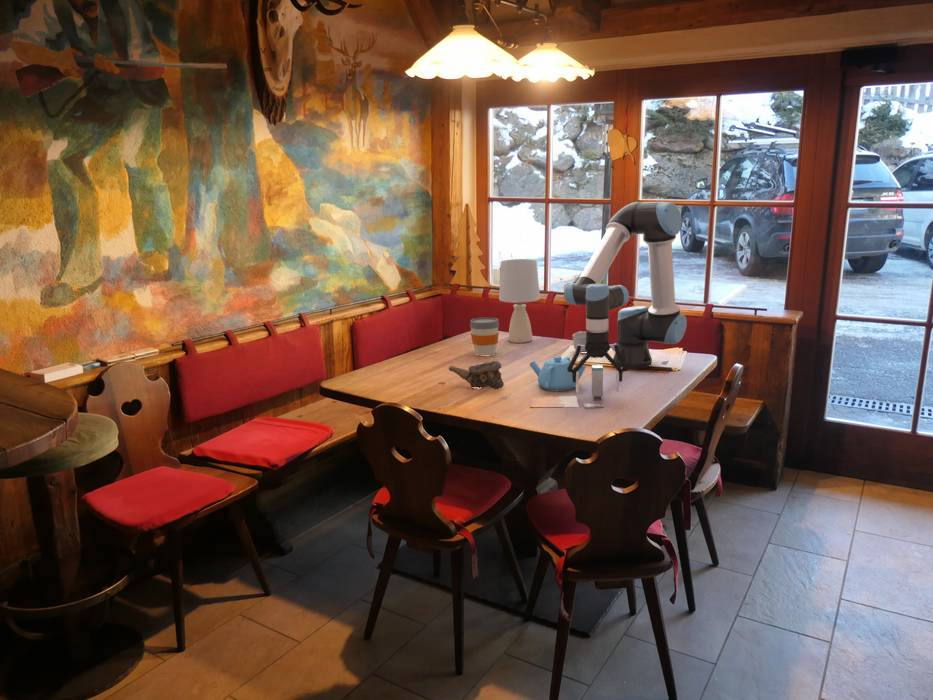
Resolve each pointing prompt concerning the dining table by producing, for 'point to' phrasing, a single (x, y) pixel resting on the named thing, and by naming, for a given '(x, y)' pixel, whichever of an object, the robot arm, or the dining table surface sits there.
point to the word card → (593, 405)
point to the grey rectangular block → (597, 382)
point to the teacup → (579, 339)
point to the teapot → (556, 374)
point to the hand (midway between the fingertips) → (597, 391)
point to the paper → (569, 401)
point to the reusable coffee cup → (484, 335)
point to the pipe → (481, 375)
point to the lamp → (519, 294)
